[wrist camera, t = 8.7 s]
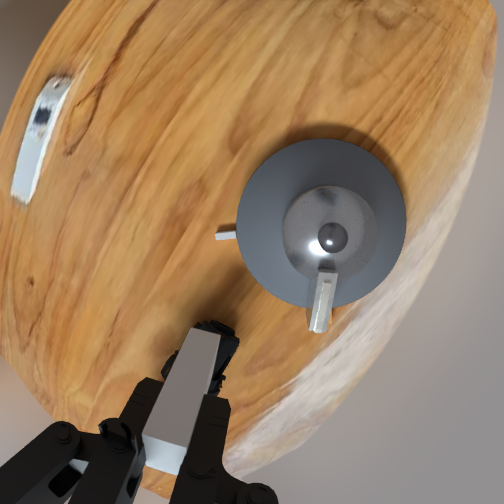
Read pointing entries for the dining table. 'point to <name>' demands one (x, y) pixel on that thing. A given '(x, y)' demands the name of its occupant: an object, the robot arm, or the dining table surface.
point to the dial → (327, 243)
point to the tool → (224, 353)
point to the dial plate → (293, 183)
